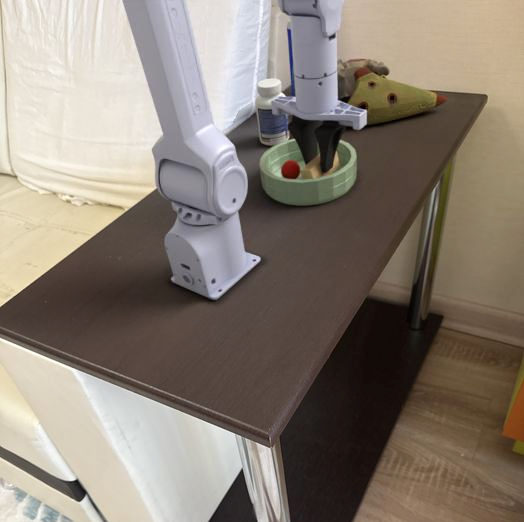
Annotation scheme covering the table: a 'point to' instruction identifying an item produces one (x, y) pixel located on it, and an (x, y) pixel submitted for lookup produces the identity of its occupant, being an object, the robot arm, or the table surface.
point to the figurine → (347, 75)
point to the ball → (290, 170)
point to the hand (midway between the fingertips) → (319, 167)
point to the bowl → (308, 188)
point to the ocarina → (389, 97)
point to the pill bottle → (270, 114)
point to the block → (318, 168)
